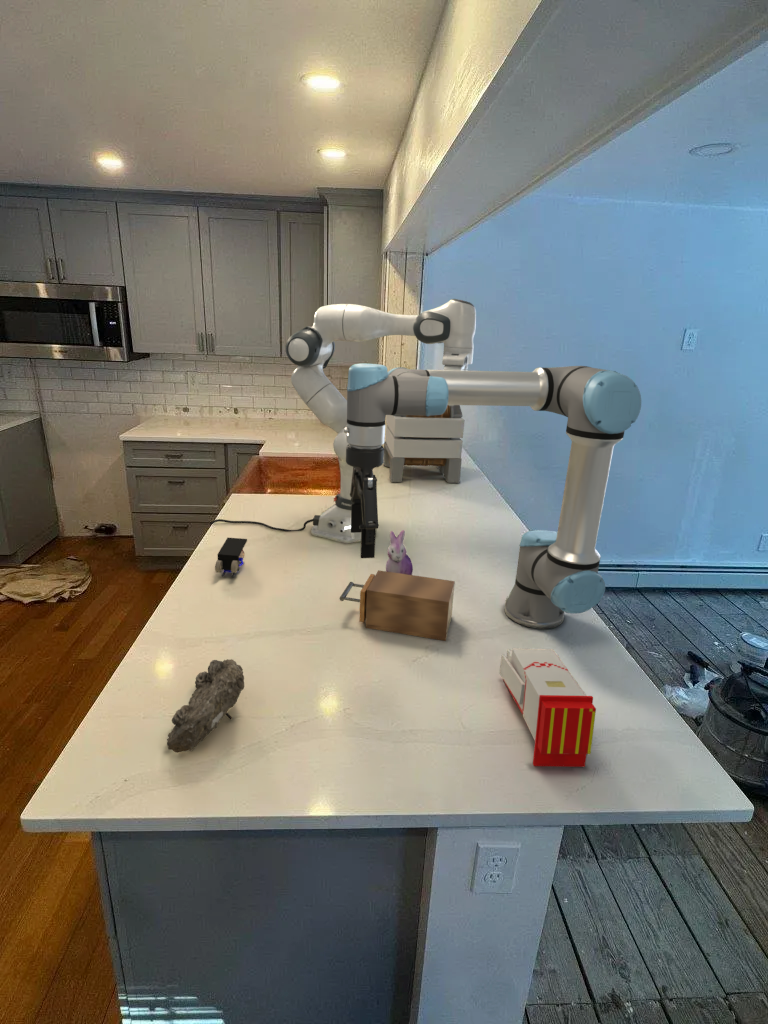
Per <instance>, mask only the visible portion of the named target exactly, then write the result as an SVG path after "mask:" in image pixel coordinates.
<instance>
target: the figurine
mask: <svg viewBox="0 0 768 1024" xmlns="http://www.w3.org/2000/svg"><path fill="white" fill-rule="evenodd" d="M405 535H406V531H405V530H404V529H402V530H401V531H400V532H399V534H398V535H397V536H396V533H394V531H393V530H390V532H389V546H388V548H387V550H386V551H387V553H386V554H387V556H388V559H387V560H386V563H385V571H386V572H393V573H400V574H407V575H413V573H414V572H413V570H414V567H413V566H414V565H413V562H412V559H411V558H410V556H409V555H408V554H407V549H406V545H405V544H404V540H405Z"/></svg>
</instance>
